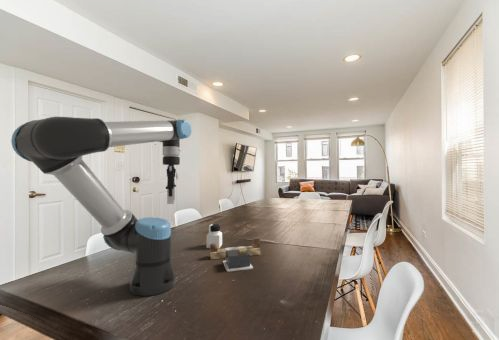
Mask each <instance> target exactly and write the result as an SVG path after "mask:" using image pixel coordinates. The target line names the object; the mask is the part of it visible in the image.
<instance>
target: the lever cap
mask: <svg viewBox="0 0 499 340" xmlns="http://www.w3.org/2000/svg"><path fill="white" fill-rule="evenodd" d="M225 261H226V263H227V265H228V267H229V269H231V268H240V267H249V266H250V264H251V256H250V254H249V253H248V251H247V250H246V249H245V248H238V250H226V258H225Z"/></svg>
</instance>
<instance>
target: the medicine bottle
mask: <svg viewBox="0 0 499 340" xmlns="http://www.w3.org/2000/svg"><path fill="white" fill-rule="evenodd" d="M210 244H218V249H221V247H222V245H223V232H222V231H221V225H220V224H219V223H211V224H209V225H208V233H207V234H206V249H210Z"/></svg>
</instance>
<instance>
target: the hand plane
mask: <svg viewBox="0 0 499 340" xmlns="http://www.w3.org/2000/svg"><path fill="white" fill-rule="evenodd" d="M260 239H261V238H260V237H252V239H251V240H252V241H251V242H252V245H248V246H232V247H225V248H219V249H218V244H210V248H209V251H210V252H209V255H210V256H209V257H210V260H218V259H226V250H238V248H245V249H246V250H247V251H248V253H249V254H250V257H251V256H257V255H258V256H260V255H261V241H260Z"/></svg>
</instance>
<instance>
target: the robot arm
mask: <svg viewBox="0 0 499 340" xmlns="http://www.w3.org/2000/svg"><path fill="white" fill-rule="evenodd" d="M191 134H192V125H191V124H190V122H189V121H188V120H187V119H176V120H175V119H173V120H140V121H139V120H138V121H137V120H135V121H133V120H132V121H131V120H130V121H129V120H128V121H127V120H126V121H125V120H124V121H104V120H103V119H101V118H91V117H90V118H86V117H72V116H71V117H70V116H49V117H45V118H42V119H35V120H33V119H32V120H30V121H27V122H25V123H22V124H21V125H19V126H18V127H17V128H16V129H14V131H13V133H12V135H11V140H10V141H11V145H12V150H13V151H14V152H15V153H16V154H17V155H18V156H19V157H20V158H22V159H24V160H26V161H27V162H32V163H33V164H34V165H35V166H36V167H37V168H38V169H39V170H40V171H41V172H42V173H43V174H44V175H52V176H54V177H55V178H56V179H57V180H58V181H59V183H61V184H62V186H63V187H64V188H65V189H66V190H67V191H68V192H69V193H70V194H71V195H72V196H73V197H74V198H75V199H76V201H78V203H79V204H80V205H81V206H82V207H83V208H84V209H85V211H87V212H88V213H89V214H90V216H92V217H93V218H94V220H95V221H96V222H97V223H98V224H99V225H101V227H100V232H101V234H102V236H103V237H102V238H103V241H104V243H105V244H106V246H108V247H109V248H112V249H113V250H115V251H122V252H127V253H131V254H134V255H135V266H134V270H133V273H132V276H131V279H130V284H129V292H130V293H131V294H133V295H136V296H141V297H143V296H144V297H146V296H147V297H148V296H154V295H155V296H156V295H159V294H162V293H165V292H167V291H169V290H171V289H172V288H173V287H174V286H175V285H176V283H177V282H176V280H177V279H176V274H175V270H174V268H173V265H172V261H171V257H172V255H171V254H172V253H171V250H172V249H171V248H172V244H171V243H172V230H171V223H170V221H168V220H167V219H166V218H162V217H142V218H139V219H137V217H136V216H135V214H133V212H132V211H131V210H129V209H124V208H123V207H122V206H121V205H120V203H119V202H118V201H117V200H116V199H115V198H114V196H113V195H112V194H111V192H110V191H109V190H108V189H107V188H106V187H105V185H104V184H103V183H102V182H101V180H100V179H99V178H98V177H97V176H96V175H95V173H94V172H93V171H92V170H91V168H90V167H89V166H88V164H87V163H85V161H84V160H83V156H87V155H91V154H95V153H102V152H106V151H108V149H109V148H113V147H114V148H115V147H121V146H131V145H139V144H149V143H156V142H158V143H159V142H160V143H162V165H166V166H167V168H166V177H167V183H166V186H165V190H166V193H167V195H166V200H167V201H166V204H167V205H174V204H175V199H176V196H175V195H176V193H175V192H176V191H175V188H176V187H177V185H176V183H175V177H176V172H177V169H176V168H175V166H179V165H180V162H181V161H180V160H181V158H180V152H182V149H180V145H181V144H180V140H184V139H188V138H190V136H192V135H191Z"/></svg>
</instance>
